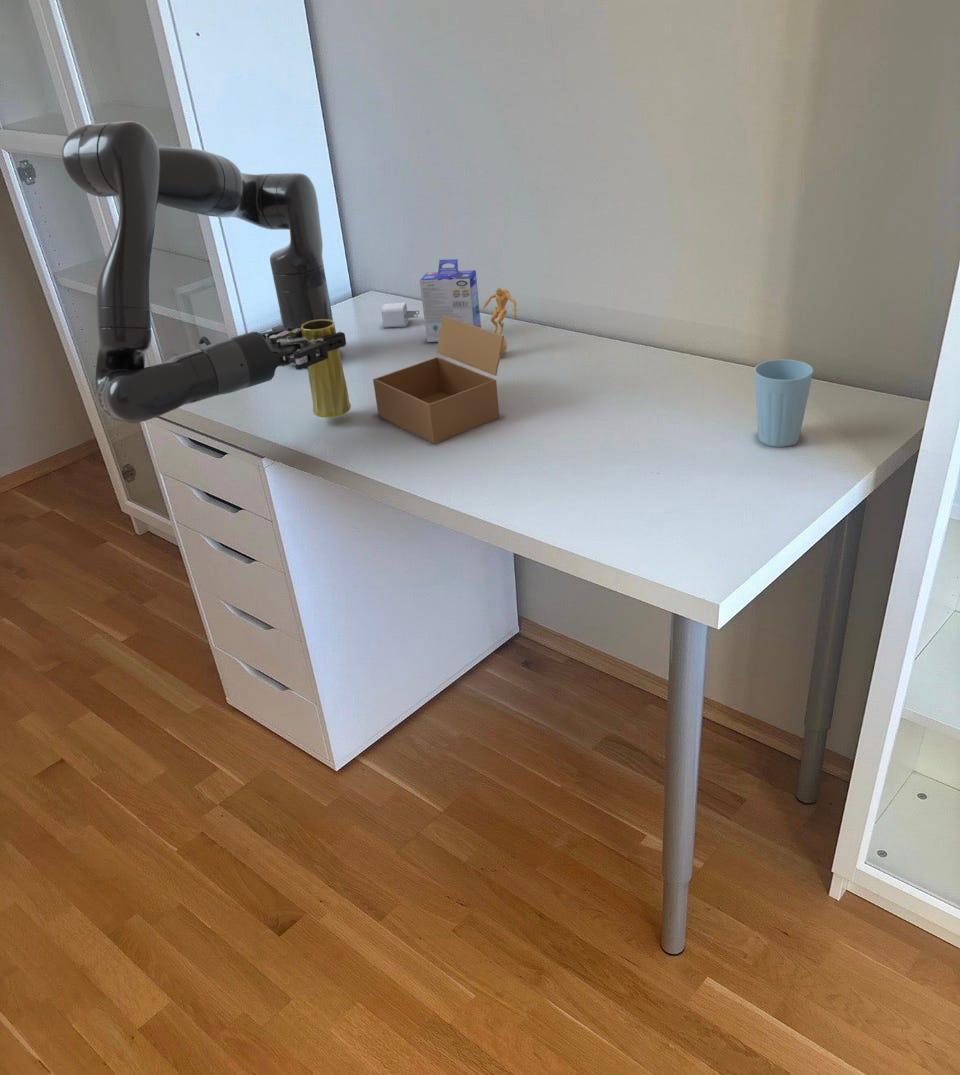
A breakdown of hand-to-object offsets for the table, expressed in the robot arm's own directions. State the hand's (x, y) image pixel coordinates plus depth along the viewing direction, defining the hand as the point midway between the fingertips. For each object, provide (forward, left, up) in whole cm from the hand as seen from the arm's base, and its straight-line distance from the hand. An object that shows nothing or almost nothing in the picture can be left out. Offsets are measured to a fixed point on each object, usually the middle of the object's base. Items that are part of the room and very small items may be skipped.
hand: (334, 334), depth 154 cm
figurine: (-2, +34, -14) cm, 36 cm away
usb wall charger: (-31, +32, -14) cm, 46 cm away
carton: (+12, +10, -14) cm, 21 cm away
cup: (+56, +38, -14) cm, 69 cm away
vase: (0, -3, -12) cm, 12 cm away
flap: (+12, +17, -4) cm, 21 cm away
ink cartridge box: (-16, +34, -14) cm, 40 cm away
